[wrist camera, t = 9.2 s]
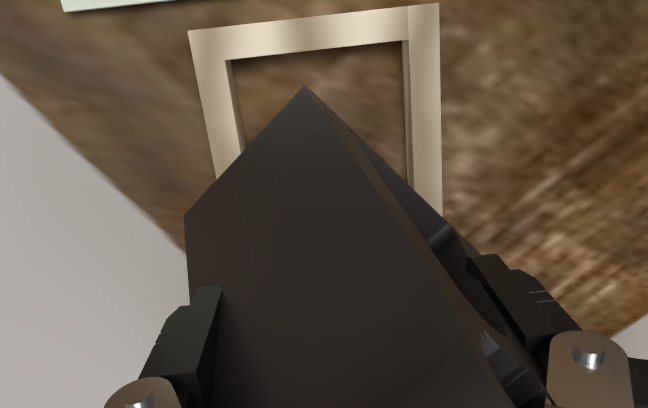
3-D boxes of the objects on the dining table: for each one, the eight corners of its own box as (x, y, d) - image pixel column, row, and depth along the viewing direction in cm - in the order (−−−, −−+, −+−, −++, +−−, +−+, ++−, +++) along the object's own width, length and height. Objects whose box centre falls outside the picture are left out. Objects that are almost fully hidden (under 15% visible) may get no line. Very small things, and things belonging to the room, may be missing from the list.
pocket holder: (429, 4, 32) (438, 2, 30) (434, 219, 38) (442, 232, 36) (196, 30, 32) (187, 31, 30) (236, 241, 38) (231, 255, 36)
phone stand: (483, 256, 17) (805, 682, 6) (366, 355, 19) (453, 848, 8) (305, 81, 15) (300, 259, 4) (186, 210, 16) (-81, 621, 5)
